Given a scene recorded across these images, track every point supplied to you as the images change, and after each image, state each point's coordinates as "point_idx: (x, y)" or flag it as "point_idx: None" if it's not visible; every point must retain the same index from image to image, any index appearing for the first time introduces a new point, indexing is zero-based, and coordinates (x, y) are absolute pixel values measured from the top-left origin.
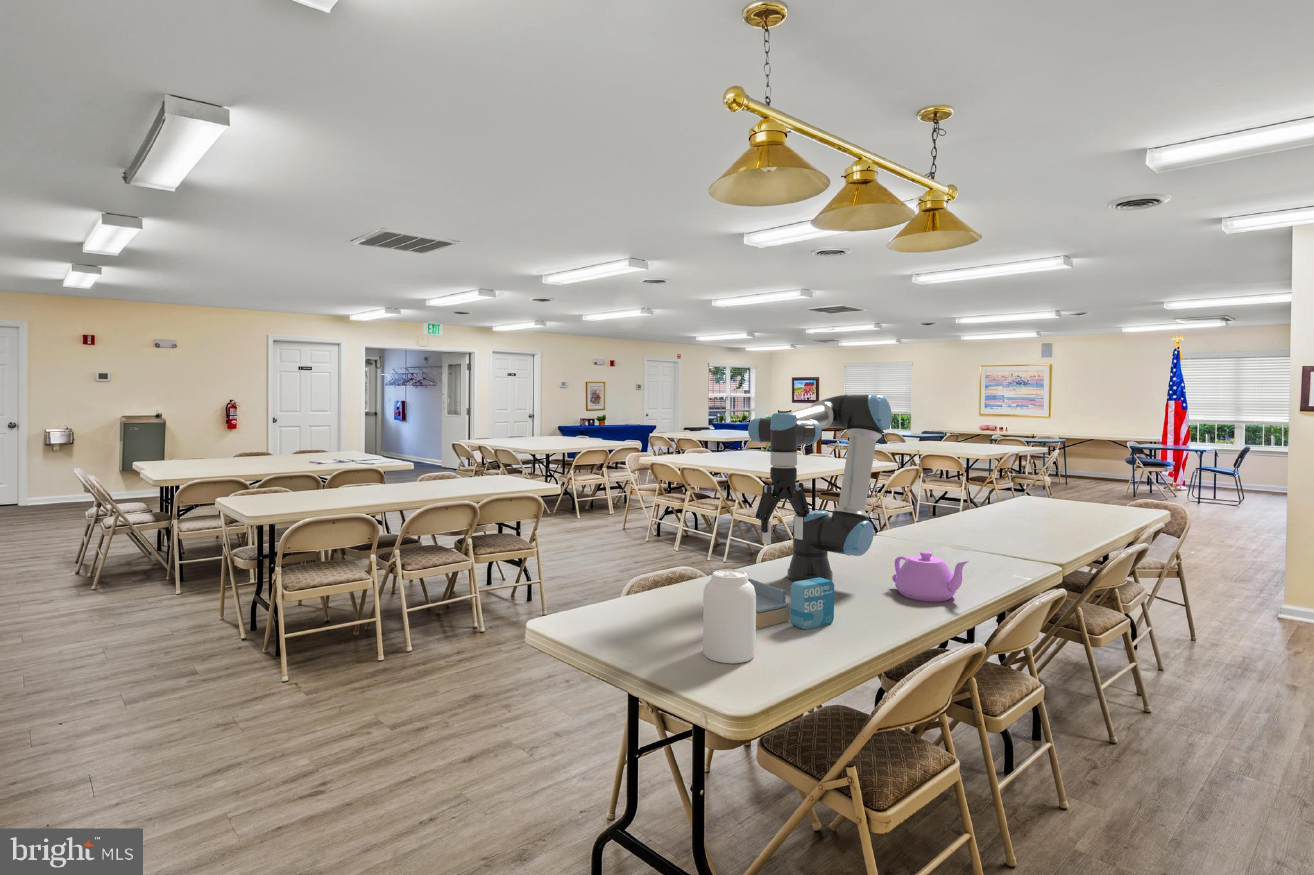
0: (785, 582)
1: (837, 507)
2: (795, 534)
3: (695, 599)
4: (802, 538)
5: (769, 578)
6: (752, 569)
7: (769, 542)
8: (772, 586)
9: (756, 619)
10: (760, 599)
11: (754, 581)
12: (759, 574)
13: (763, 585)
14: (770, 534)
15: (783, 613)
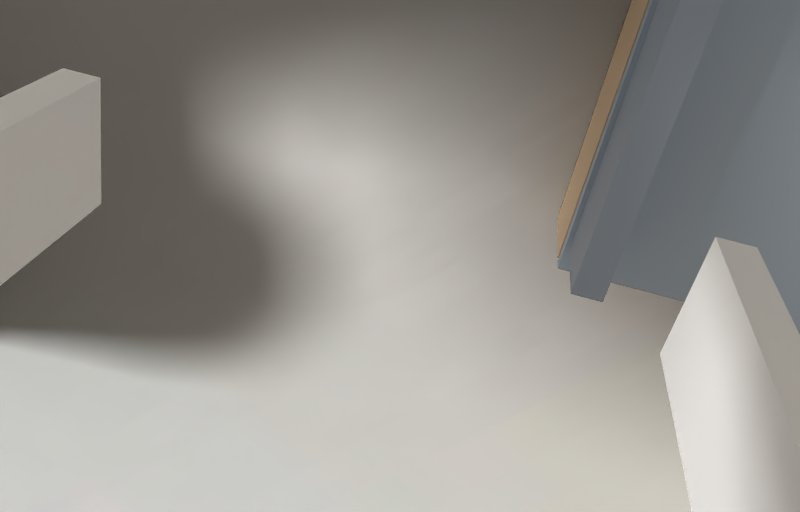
0: (23, 294)
1: None
2: (69, 207)
3: (645, 472)
4: (60, 71)
5: (44, 386)
6: (8, 507)
7: (751, 260)
8: (677, 27)
9: None
10: (745, 63)
11: (625, 226)
12: (38, 450)
13: (676, 115)
14: (766, 327)
15: None
